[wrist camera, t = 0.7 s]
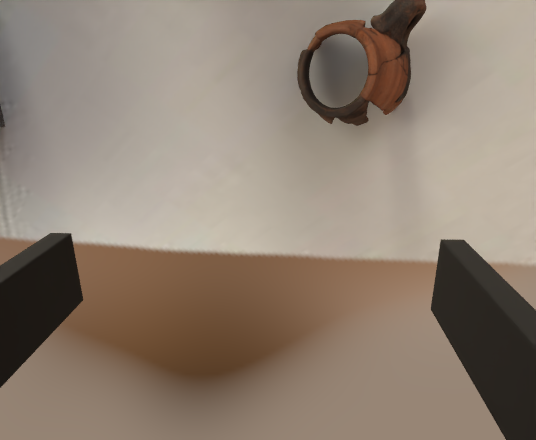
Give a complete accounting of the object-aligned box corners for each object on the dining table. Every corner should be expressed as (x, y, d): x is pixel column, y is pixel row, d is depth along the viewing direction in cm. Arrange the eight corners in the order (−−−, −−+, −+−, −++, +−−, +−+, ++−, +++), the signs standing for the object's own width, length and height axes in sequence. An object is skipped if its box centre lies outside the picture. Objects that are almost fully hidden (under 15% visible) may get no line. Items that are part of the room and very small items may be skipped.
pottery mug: (379, 141, 41) (346, 150, 34) (312, 86, 43) (268, 85, 37) (468, 26, 34) (447, 10, 27) (382, -31, 37) (344, -58, 30)
